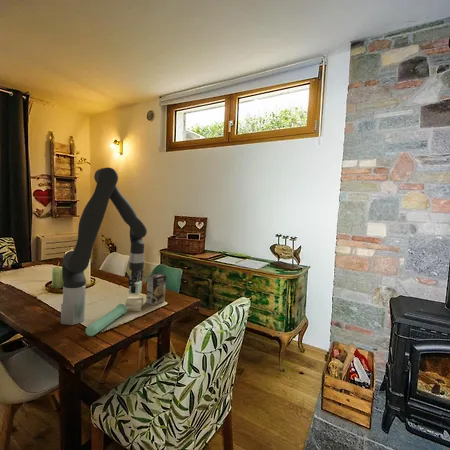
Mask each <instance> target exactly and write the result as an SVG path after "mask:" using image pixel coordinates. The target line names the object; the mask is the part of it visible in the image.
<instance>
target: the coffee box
mask: <svg viewBox="0 0 450 450" xmlns="http://www.w3.org/2000/svg"><path fill="white" fill-rule="evenodd" d="M146 284H147V285H146V297H145V298H146V299H145V303H146V304H149V305H151V306H155V305H158V304H161V302H162V303H165V302H166V301H165V300H166V285H167V275H166V274H163V273H154V274H149V275H147V283H146Z"/></svg>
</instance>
